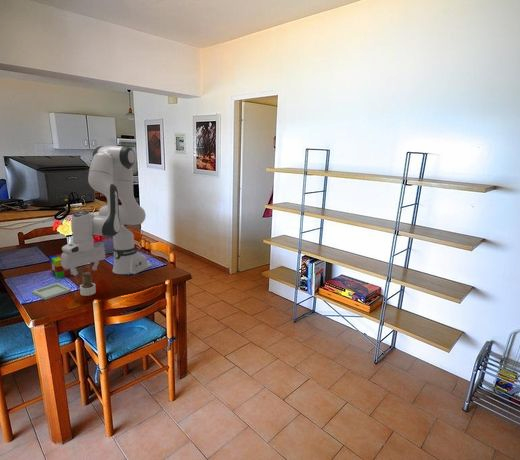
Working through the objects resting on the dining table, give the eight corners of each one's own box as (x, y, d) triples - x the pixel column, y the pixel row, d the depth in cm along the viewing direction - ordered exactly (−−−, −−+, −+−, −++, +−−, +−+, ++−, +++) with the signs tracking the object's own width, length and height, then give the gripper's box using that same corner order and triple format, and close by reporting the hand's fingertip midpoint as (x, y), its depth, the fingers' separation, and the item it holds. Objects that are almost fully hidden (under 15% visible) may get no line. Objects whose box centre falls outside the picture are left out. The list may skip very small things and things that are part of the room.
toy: (76, 273, 188) (75, 257, 185) (57, 278, 180) (55, 261, 178) (69, 269, 194) (68, 252, 191) (51, 273, 186) (49, 256, 184)
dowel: (89, 290, 166) (88, 271, 164) (94, 292, 164) (92, 273, 162) (81, 292, 163) (80, 273, 160) (86, 295, 161) (84, 275, 158)
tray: (58, 286, 170) (57, 282, 170) (71, 292, 164) (70, 288, 164) (32, 294, 160) (32, 290, 160) (45, 301, 154) (45, 297, 154)
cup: (90, 289, 168) (90, 281, 167) (98, 293, 165) (98, 285, 164) (77, 294, 163) (76, 286, 161) (85, 298, 159) (84, 289, 158)
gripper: (99, 239, 167) (101, 265, 170) (57, 248, 150) (60, 276, 153) (107, 241, 164) (108, 268, 167) (65, 250, 147) (68, 279, 150)
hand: (85, 272), depth 160 cm, fingers open, 8 cm apart
